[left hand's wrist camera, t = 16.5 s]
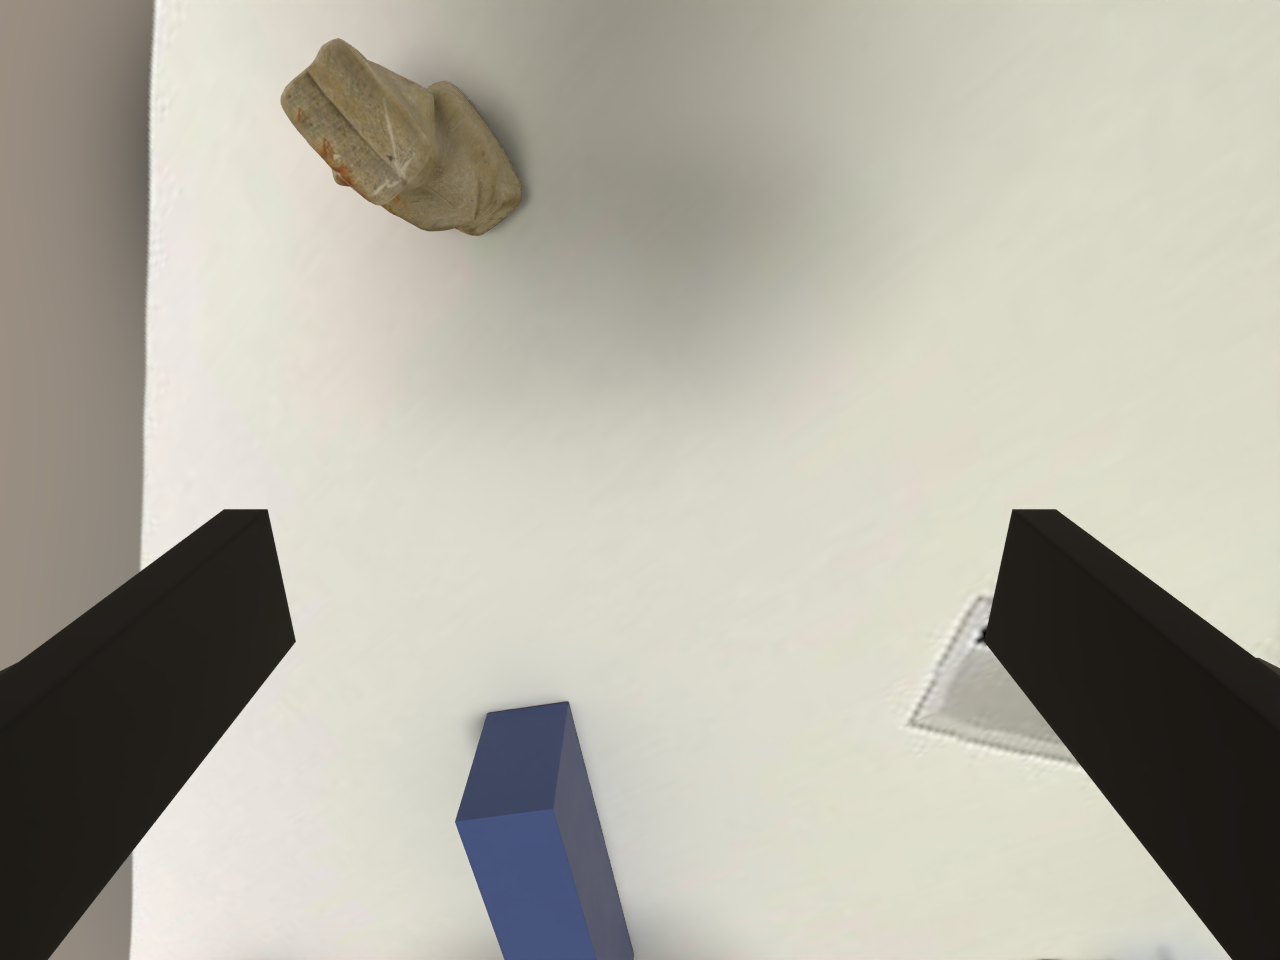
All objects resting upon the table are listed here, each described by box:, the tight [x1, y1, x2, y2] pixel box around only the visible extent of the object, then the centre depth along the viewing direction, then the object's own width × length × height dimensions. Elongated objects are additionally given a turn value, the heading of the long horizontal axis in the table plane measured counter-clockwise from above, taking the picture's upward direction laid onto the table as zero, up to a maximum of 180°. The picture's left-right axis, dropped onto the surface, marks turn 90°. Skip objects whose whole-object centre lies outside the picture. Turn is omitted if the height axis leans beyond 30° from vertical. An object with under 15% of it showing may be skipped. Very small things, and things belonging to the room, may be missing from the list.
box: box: [455, 702, 634, 960], centre depth 53 cm, size 28×6×10 cm, turn 10°
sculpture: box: [281, 39, 522, 236], centre depth 32 cm, size 6×7×15 cm
